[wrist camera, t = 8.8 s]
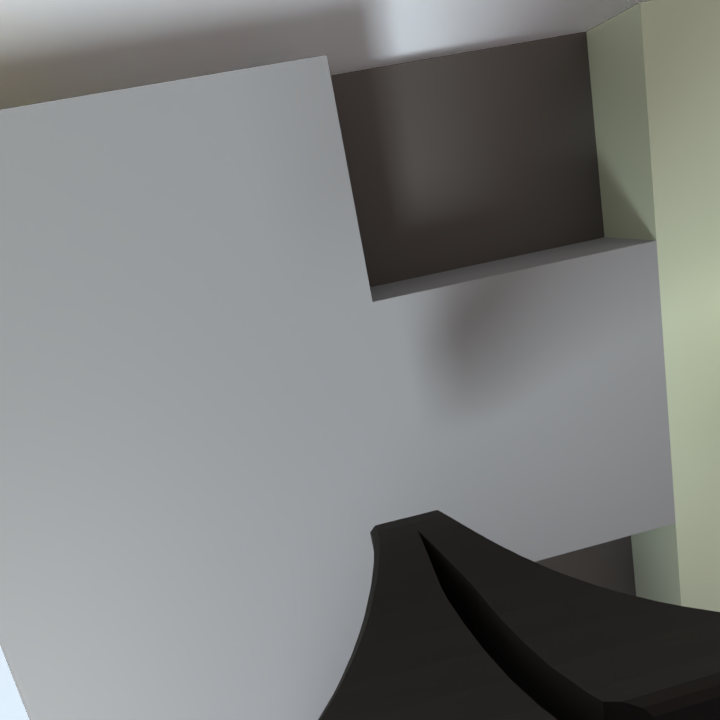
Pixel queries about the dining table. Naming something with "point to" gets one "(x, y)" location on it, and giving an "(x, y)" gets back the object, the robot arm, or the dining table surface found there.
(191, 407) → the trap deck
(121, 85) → the dining table surface
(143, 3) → the dining table surface
